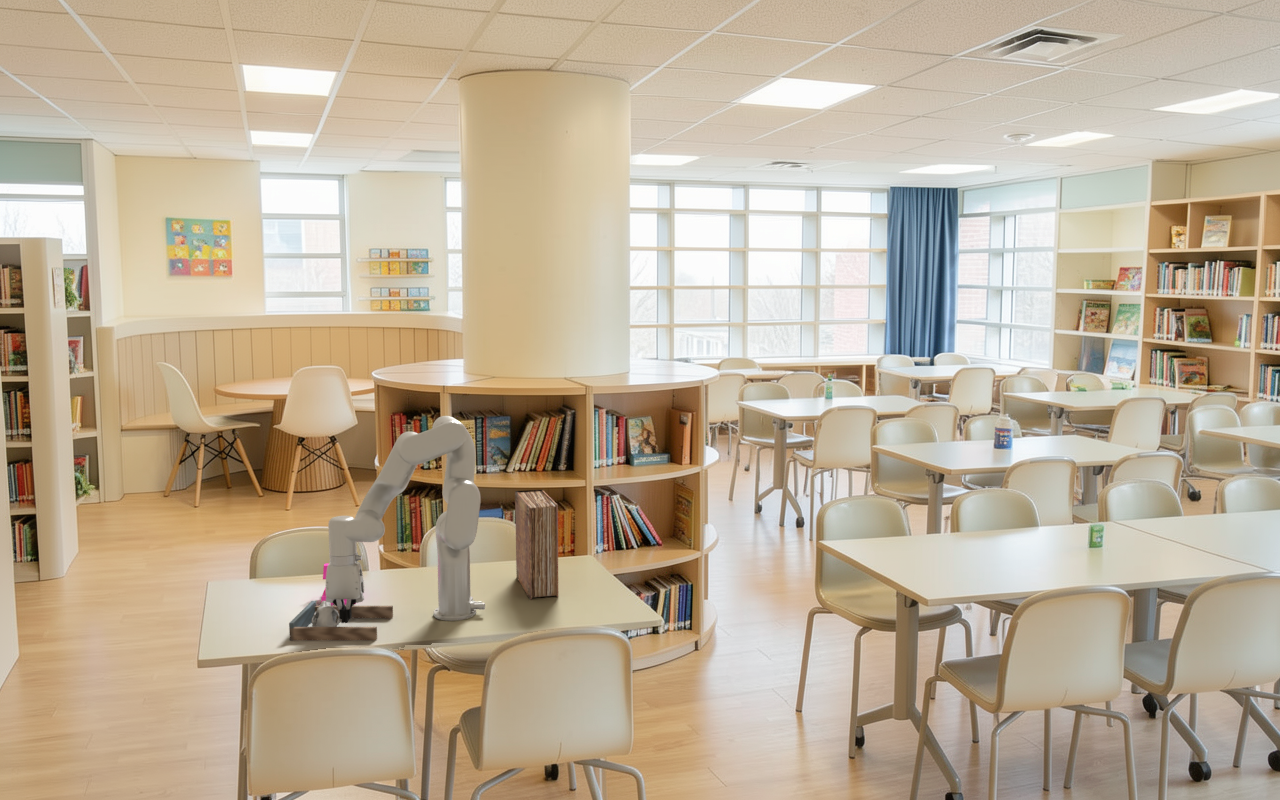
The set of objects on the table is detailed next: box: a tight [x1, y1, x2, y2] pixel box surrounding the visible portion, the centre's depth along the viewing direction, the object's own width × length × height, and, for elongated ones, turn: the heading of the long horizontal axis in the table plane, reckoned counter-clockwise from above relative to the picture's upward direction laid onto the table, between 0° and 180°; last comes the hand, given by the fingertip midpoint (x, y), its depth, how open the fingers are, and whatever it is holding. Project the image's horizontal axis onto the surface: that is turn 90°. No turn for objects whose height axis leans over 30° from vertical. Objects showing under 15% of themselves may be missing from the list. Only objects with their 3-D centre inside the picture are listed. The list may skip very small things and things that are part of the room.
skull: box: [311, 601, 341, 627], centre depth 280 cm, size 8×9×12 cm
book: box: [514, 489, 559, 601], centre depth 317 cm, size 25×9×30 cm, turn 17°
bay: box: [288, 600, 394, 641], centre depth 280 cm, size 24×19×5 cm
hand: (345, 621), depth 280 cm, fingers closed
